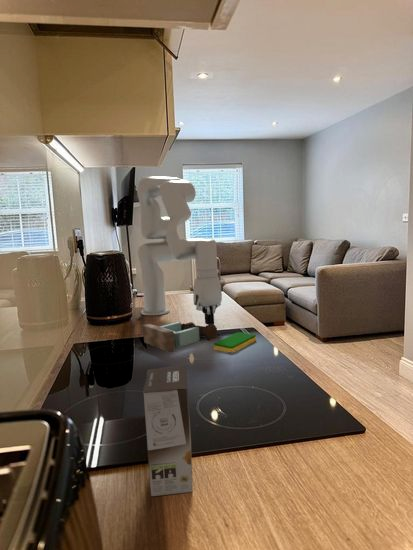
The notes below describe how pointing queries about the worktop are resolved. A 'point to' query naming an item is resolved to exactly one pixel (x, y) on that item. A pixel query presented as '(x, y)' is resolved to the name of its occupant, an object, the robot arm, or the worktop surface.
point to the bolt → (202, 330)
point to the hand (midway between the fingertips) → (209, 323)
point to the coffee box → (168, 430)
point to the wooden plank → (159, 337)
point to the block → (182, 334)
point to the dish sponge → (234, 342)
